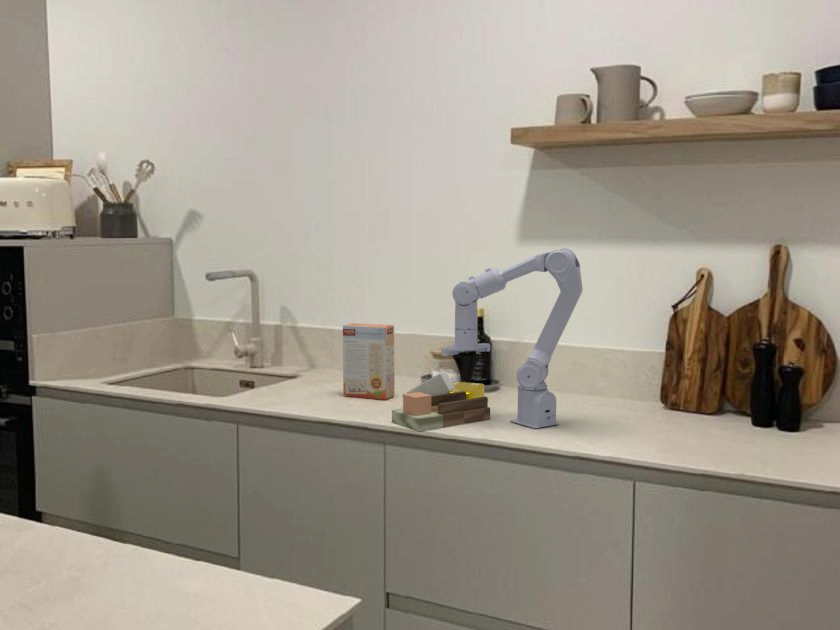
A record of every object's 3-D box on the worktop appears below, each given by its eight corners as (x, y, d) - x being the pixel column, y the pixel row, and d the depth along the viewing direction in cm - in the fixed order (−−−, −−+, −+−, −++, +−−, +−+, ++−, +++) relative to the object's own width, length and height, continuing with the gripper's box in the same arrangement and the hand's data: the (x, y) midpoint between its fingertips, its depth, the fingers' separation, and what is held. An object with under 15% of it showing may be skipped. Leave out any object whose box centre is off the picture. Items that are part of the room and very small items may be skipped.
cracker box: (395, 396, 240) (395, 324, 238) (385, 400, 235) (385, 327, 233) (353, 392, 246) (352, 322, 244) (342, 396, 241) (342, 324, 239)
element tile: (419, 405, 231) (419, 387, 231) (436, 394, 245) (436, 378, 245) (471, 409, 226) (471, 391, 226) (486, 398, 240) (486, 382, 240)
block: (431, 413, 205) (431, 395, 205) (414, 416, 202) (414, 397, 202) (419, 409, 209) (419, 392, 209) (403, 412, 207) (403, 394, 206)
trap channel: (490, 419, 212) (490, 397, 212) (419, 431, 200) (419, 408, 199) (460, 410, 222) (461, 390, 221) (391, 421, 209) (391, 400, 209)
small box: (416, 411, 219) (450, 391, 217) (405, 392, 220) (439, 373, 217) (423, 407, 227) (456, 388, 225) (413, 389, 227) (445, 370, 225)
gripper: (478, 325, 219) (477, 376, 220) (433, 329, 211) (433, 382, 212) (495, 327, 213) (495, 380, 215) (450, 331, 205) (450, 386, 206)
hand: (465, 381), depth 213 cm, fingers closed
